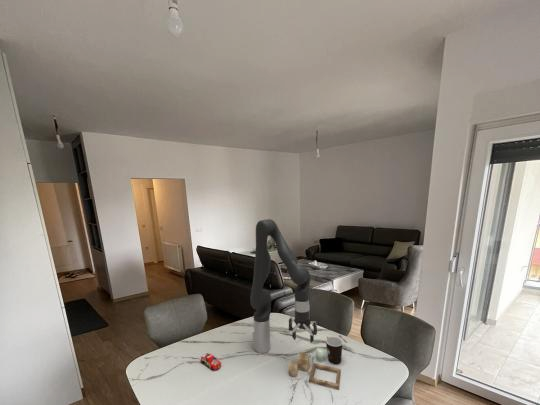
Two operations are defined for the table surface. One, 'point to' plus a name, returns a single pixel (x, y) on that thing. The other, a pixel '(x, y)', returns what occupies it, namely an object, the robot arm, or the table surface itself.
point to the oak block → (303, 362)
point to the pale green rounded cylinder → (320, 354)
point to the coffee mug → (334, 349)
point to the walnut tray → (323, 382)
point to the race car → (210, 361)
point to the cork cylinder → (292, 369)
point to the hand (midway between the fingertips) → (303, 340)
